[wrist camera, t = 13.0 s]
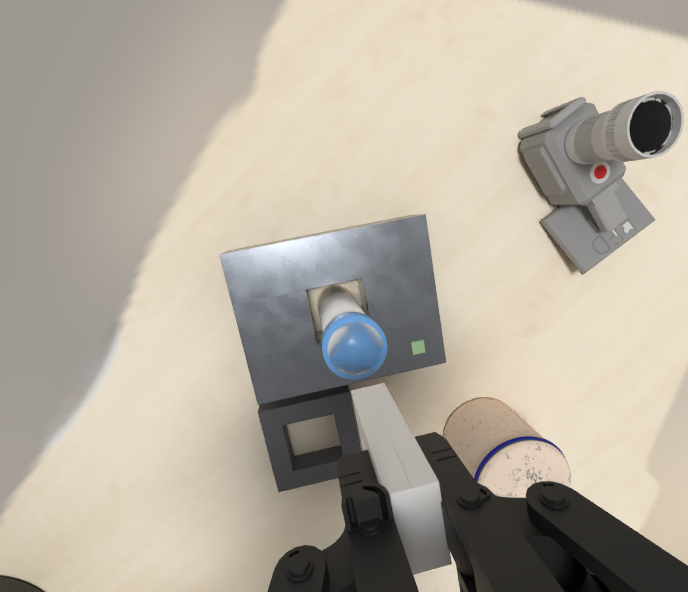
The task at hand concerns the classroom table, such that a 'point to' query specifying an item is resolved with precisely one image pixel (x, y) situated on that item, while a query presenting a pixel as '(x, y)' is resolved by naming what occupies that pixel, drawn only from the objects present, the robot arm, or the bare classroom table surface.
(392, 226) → the port panel
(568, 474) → the teacup with lid
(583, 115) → the camera
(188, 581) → the classroom table surface
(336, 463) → the frame
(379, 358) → the plug
